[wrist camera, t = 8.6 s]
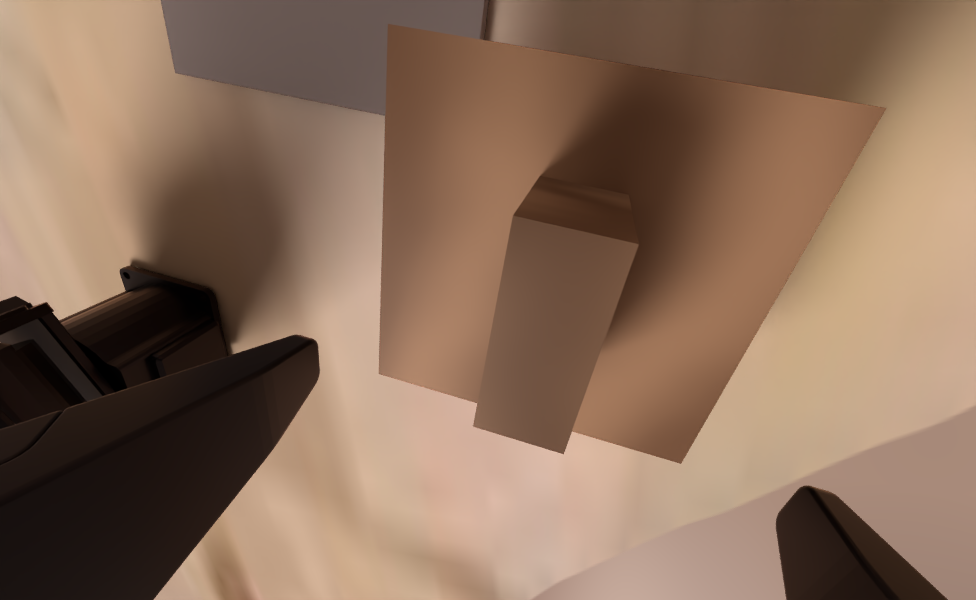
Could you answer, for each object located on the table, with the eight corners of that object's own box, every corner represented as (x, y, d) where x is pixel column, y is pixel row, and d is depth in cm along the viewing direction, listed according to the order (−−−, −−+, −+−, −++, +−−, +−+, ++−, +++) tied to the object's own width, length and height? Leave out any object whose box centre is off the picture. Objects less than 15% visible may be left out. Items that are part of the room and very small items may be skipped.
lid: (389, 359, 18) (320, 448, 13) (403, 27, 12) (287, -2, 7) (677, 443, 16) (702, 575, 12) (862, 106, 10) (1051, 125, 6)
